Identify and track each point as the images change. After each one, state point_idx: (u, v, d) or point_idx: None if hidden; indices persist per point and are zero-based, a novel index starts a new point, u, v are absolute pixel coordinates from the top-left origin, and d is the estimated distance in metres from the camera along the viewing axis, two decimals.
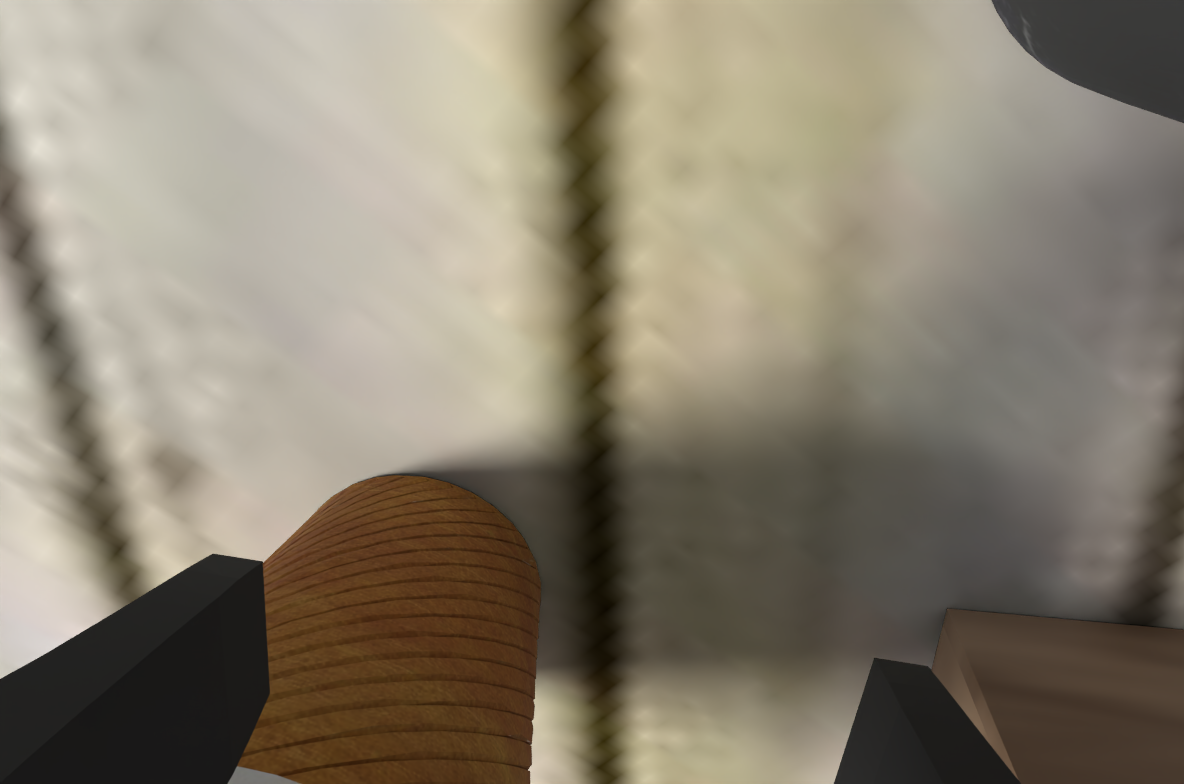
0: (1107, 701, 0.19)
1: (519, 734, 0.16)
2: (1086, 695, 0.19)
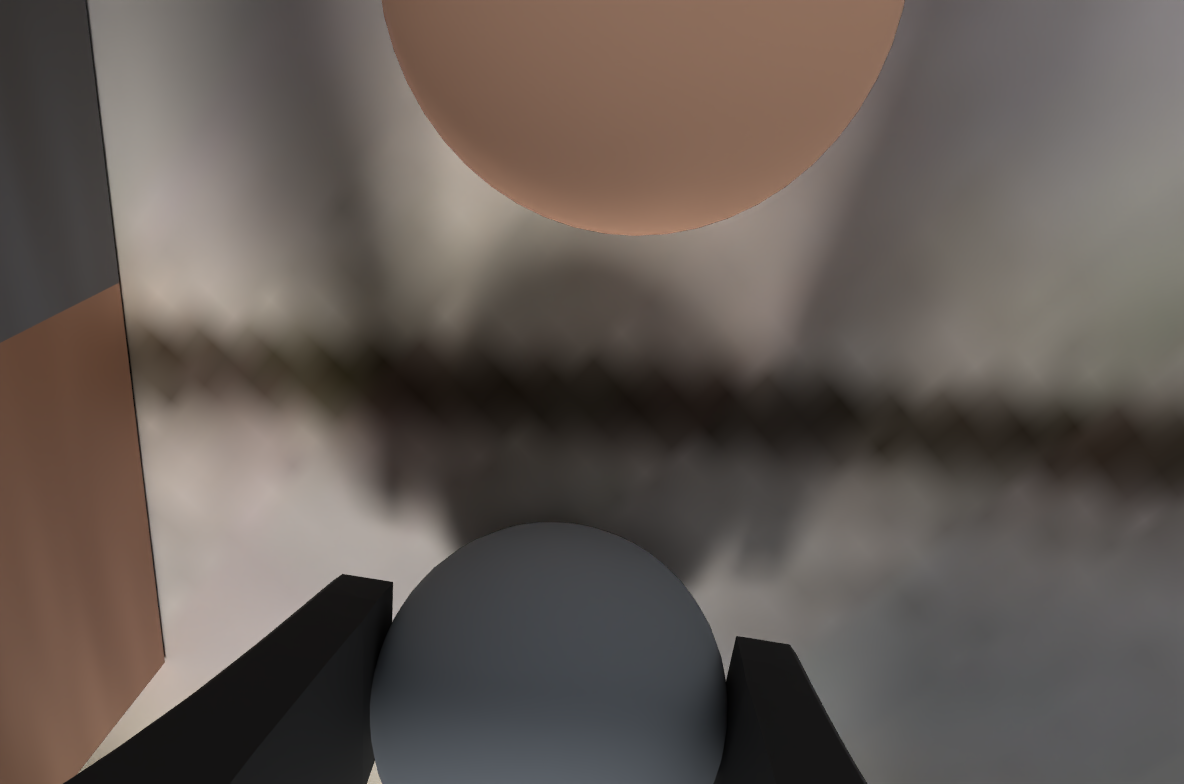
0: None
1: None
2: None
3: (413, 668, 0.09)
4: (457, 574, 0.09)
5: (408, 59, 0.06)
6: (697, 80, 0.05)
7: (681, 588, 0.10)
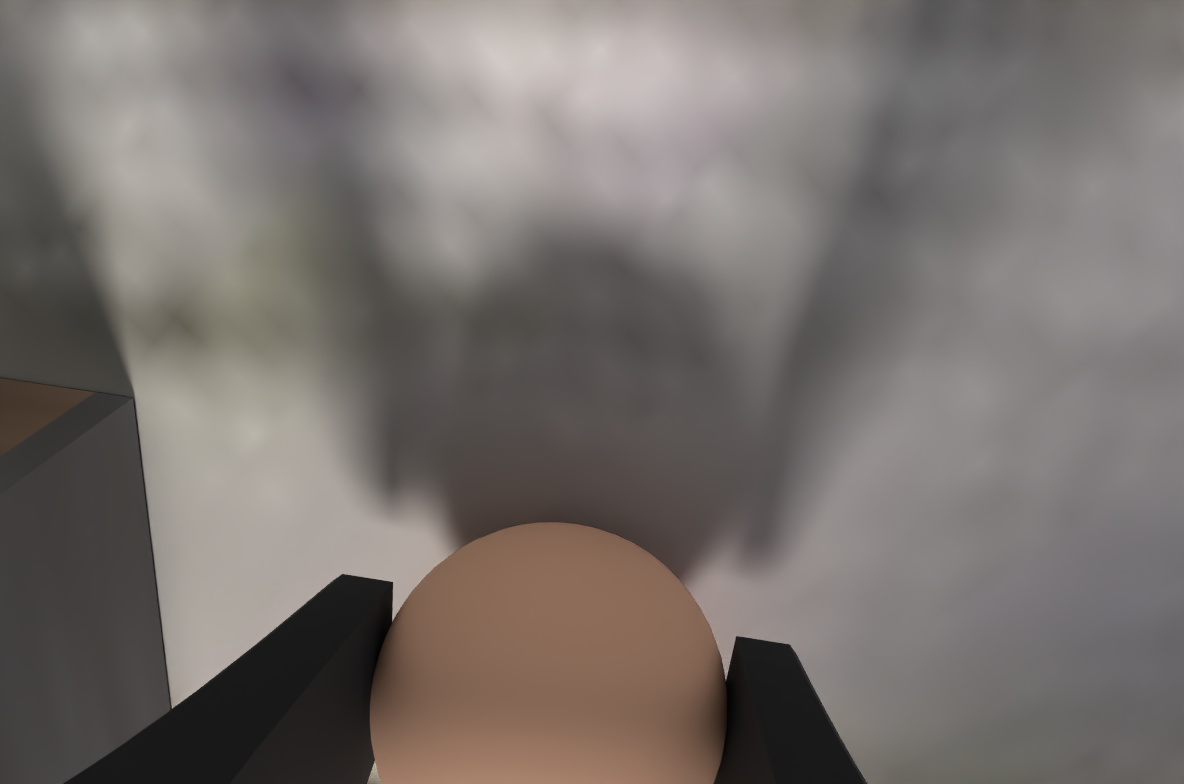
0: None
1: None
2: None
3: None
4: None
5: None
6: None
7: None
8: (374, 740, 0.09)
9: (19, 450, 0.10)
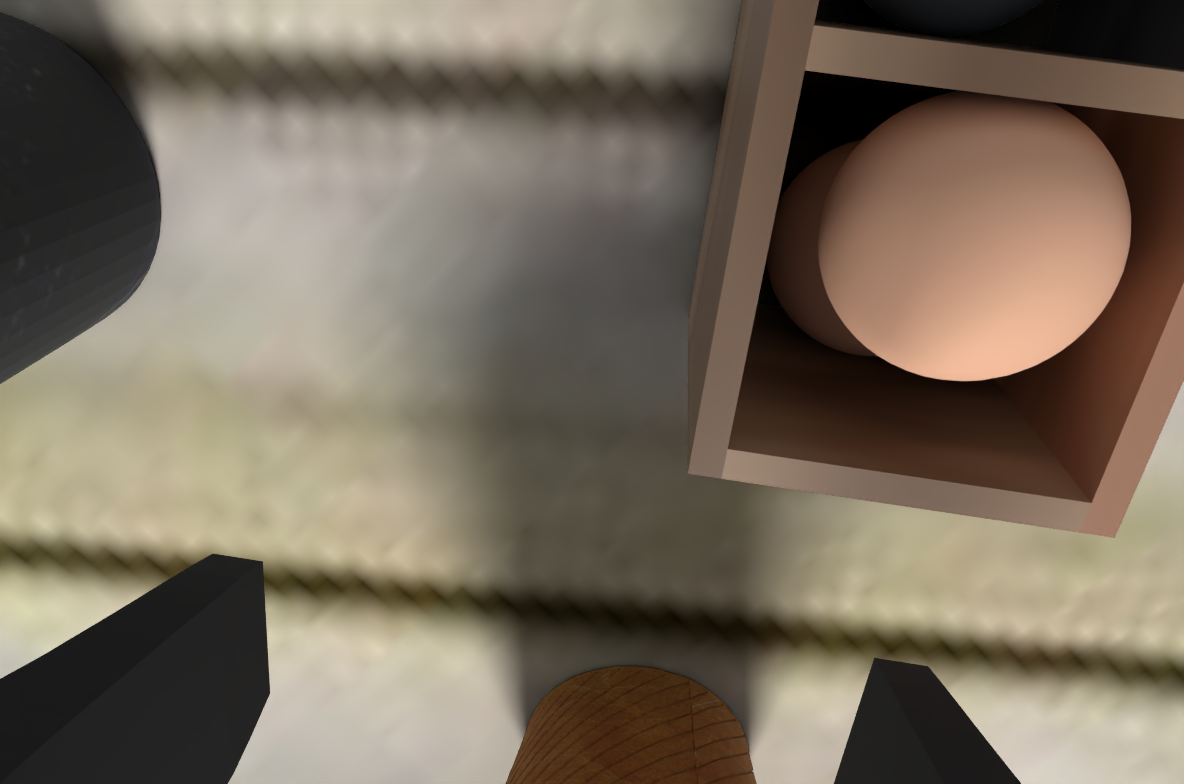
0: (711, 229, 0.16)
1: None
2: (707, 247, 0.16)
3: None
4: None
5: (895, 221, 0.11)
6: (1086, 198, 0.10)
7: None
8: (875, 171, 0.11)
9: None
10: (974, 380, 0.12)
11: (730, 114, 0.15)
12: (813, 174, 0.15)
